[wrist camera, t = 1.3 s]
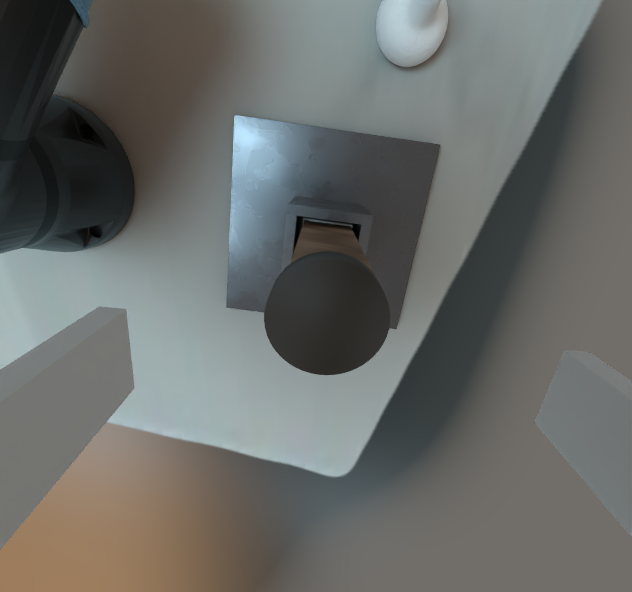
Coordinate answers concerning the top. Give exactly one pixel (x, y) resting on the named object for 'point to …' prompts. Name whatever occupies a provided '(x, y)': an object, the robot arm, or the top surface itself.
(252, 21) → the top surface
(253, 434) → the top surface
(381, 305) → the post
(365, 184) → the sleeve stand
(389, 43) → the garlic bulb
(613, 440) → the robot arm
